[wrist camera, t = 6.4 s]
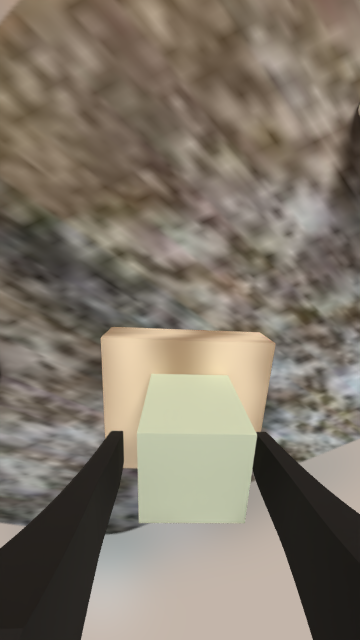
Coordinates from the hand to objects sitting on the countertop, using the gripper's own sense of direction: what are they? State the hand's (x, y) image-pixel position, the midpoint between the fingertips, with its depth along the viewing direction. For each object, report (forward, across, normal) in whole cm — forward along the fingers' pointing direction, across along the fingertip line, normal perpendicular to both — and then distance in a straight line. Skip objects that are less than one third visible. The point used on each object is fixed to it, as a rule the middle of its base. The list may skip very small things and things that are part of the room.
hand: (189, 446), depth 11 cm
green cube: (+3, 0, 0) cm, 3 cm away
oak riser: (+6, 0, 0) cm, 6 cm away
